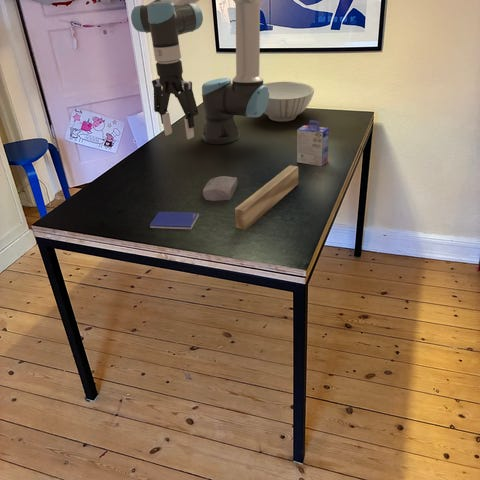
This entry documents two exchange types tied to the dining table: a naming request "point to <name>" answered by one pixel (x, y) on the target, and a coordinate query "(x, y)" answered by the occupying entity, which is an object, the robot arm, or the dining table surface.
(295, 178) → the oak board
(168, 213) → the hard drive
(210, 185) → the stone block
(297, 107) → the decorative bowl
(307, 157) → the ink cartridge box
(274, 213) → the dining table surface
